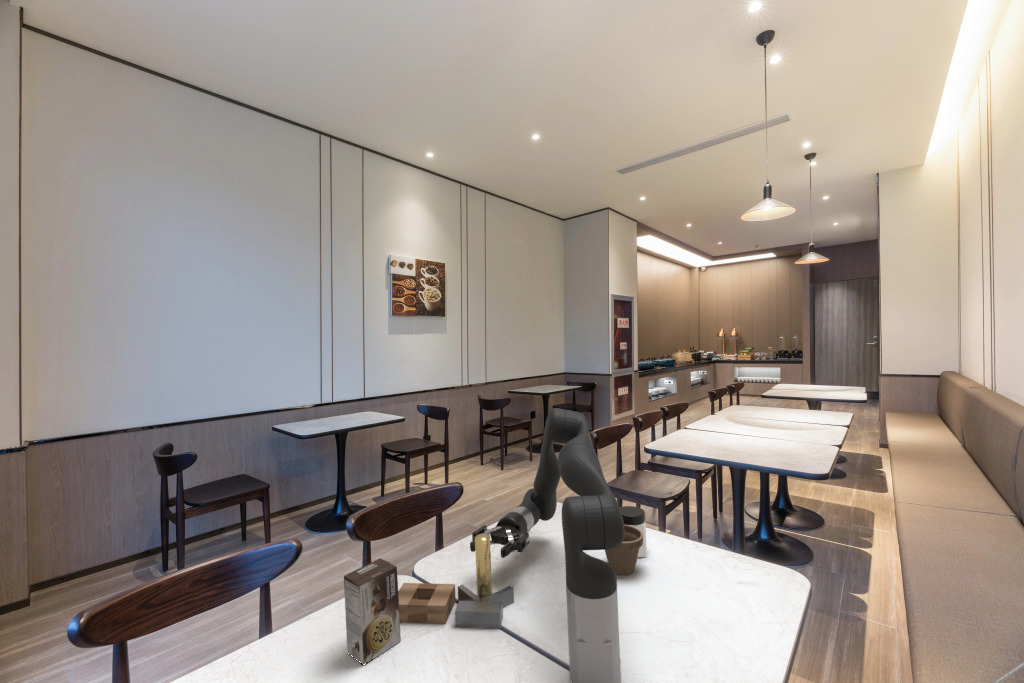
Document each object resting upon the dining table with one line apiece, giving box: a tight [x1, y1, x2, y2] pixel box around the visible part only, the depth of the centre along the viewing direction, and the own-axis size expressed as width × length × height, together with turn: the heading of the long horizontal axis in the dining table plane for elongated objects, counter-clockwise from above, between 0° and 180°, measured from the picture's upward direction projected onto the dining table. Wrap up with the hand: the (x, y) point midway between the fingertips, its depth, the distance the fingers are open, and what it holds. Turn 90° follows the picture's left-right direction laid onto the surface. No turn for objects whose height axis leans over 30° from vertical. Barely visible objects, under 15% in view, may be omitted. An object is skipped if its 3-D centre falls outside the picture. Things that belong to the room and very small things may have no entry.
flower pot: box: [604, 525, 643, 576], centre depth 119 cm, size 12×11×10 cm
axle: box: [474, 534, 493, 599], centre depth 106 cm, size 4×4×16 cm
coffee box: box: [343, 558, 402, 664], centre depth 92 cm, size 9×6×16 cm
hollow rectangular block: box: [398, 582, 457, 625], centre depth 104 cm, size 9×13×4 cm
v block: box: [454, 584, 515, 630], centre depth 103 cm, size 11×14×4 cm
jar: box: [619, 505, 648, 559], centre depth 129 cm, size 9×8×12 cm
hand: (486, 550), depth 108 cm, fingers open, 8 cm apart
